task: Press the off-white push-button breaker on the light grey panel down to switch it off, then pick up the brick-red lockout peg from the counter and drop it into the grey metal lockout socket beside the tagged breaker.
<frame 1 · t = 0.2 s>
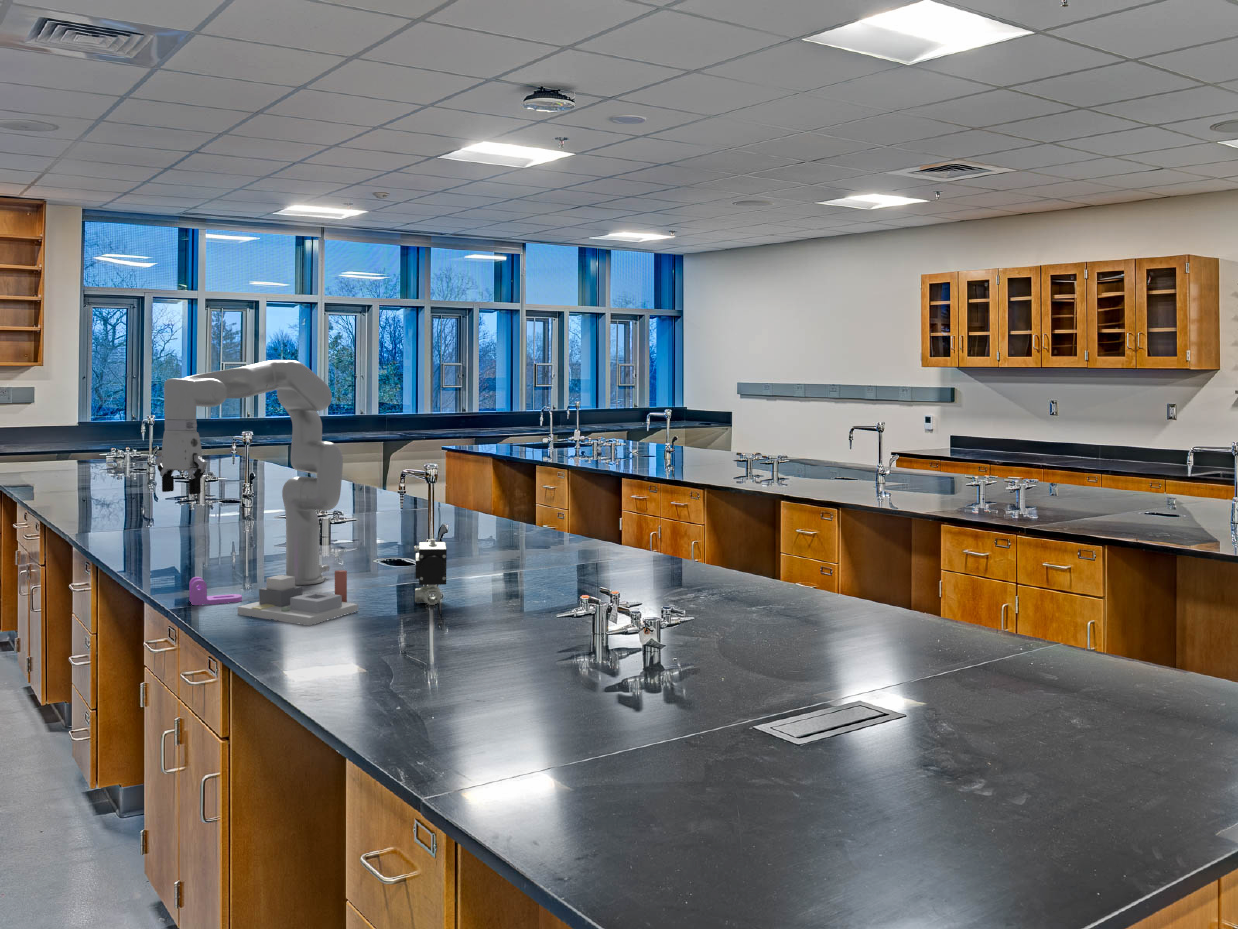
hand: (181, 492, 262), 31 cm above the counter, tool pointing down, fingers open, 9 cm apart
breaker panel: (298, 613, 264), on the counter
bracket: (216, 603, 275), on the counter
lockout peg: (340, 604, 276), on the counter
ball valve: (429, 604, 279), on the counter
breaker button: (280, 584, 266), point 7 cm above the counter, slide at 0.0 cm
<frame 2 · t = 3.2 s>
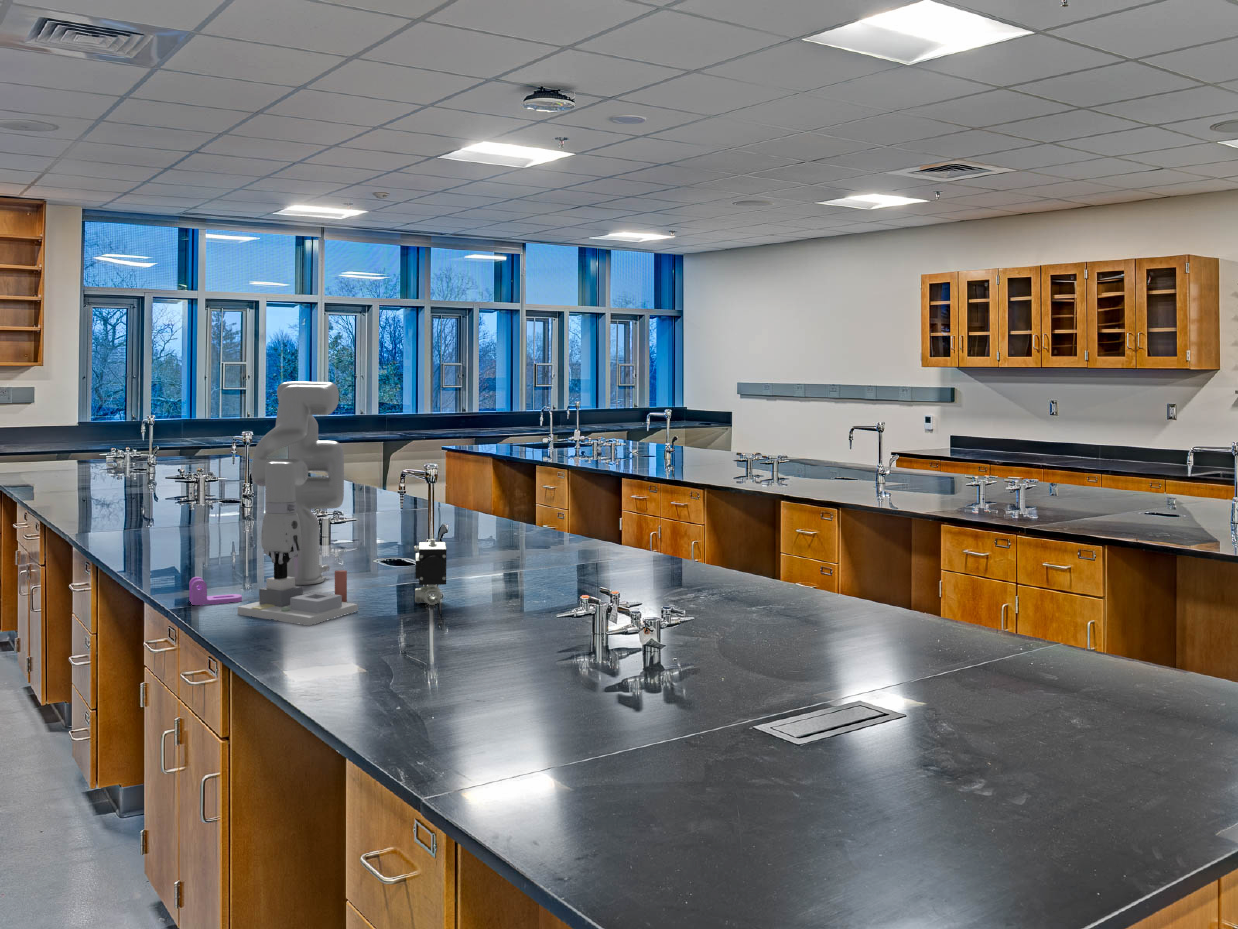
hand: (280, 578, 266), 9 cm above the counter, tool pointing down, fingers closed
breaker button: (280, 585, 266), point 7 cm above the counter, slide at 0.2 cm, touching gripper
everything else where it was.
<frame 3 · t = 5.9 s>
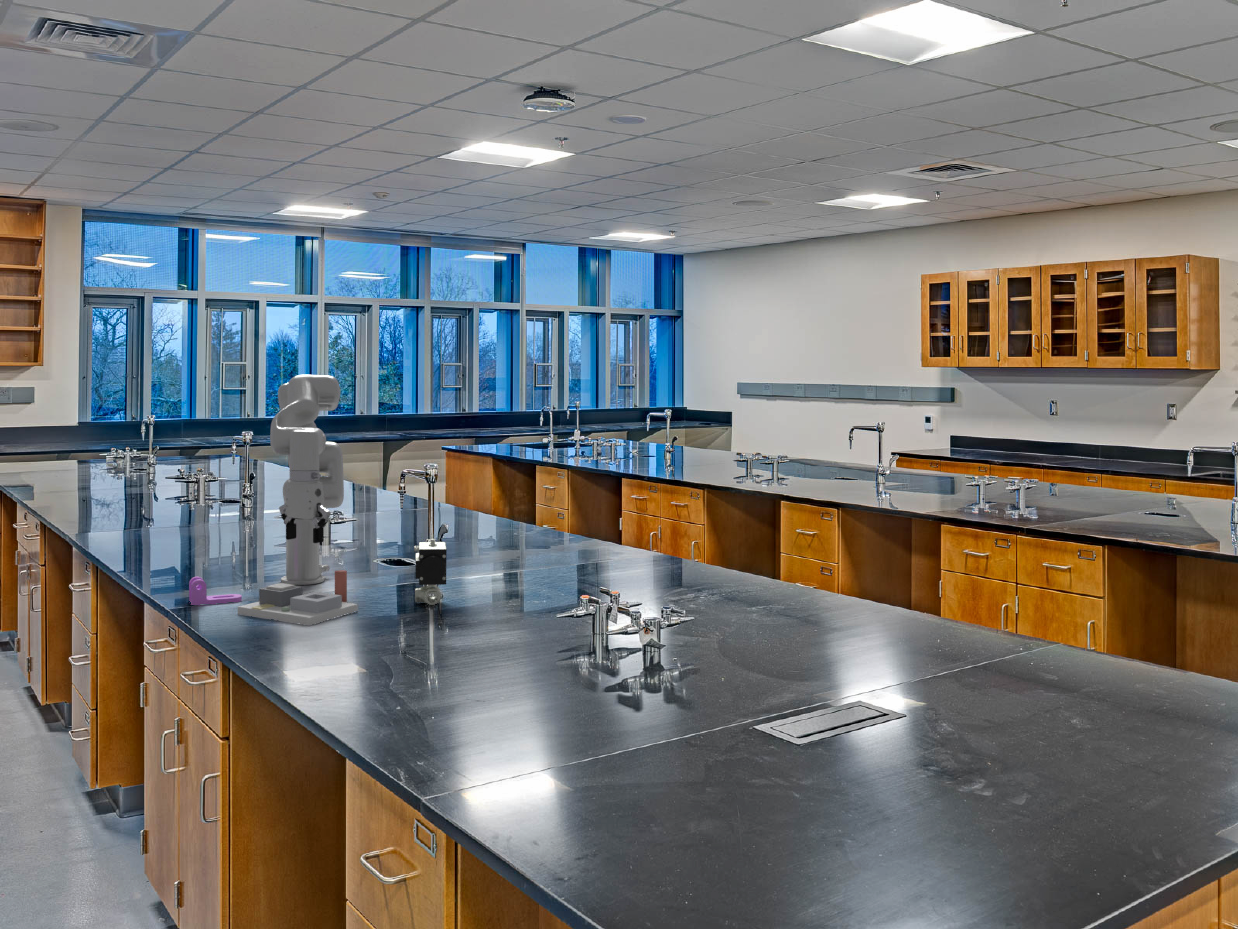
hand: (304, 540, 269), 18 cm above the counter, tool pointing down, fingers open, 9 cm apart
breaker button: (280, 593, 266), point 5 cm above the counter, slide at 2.2 cm
everything else where it was.
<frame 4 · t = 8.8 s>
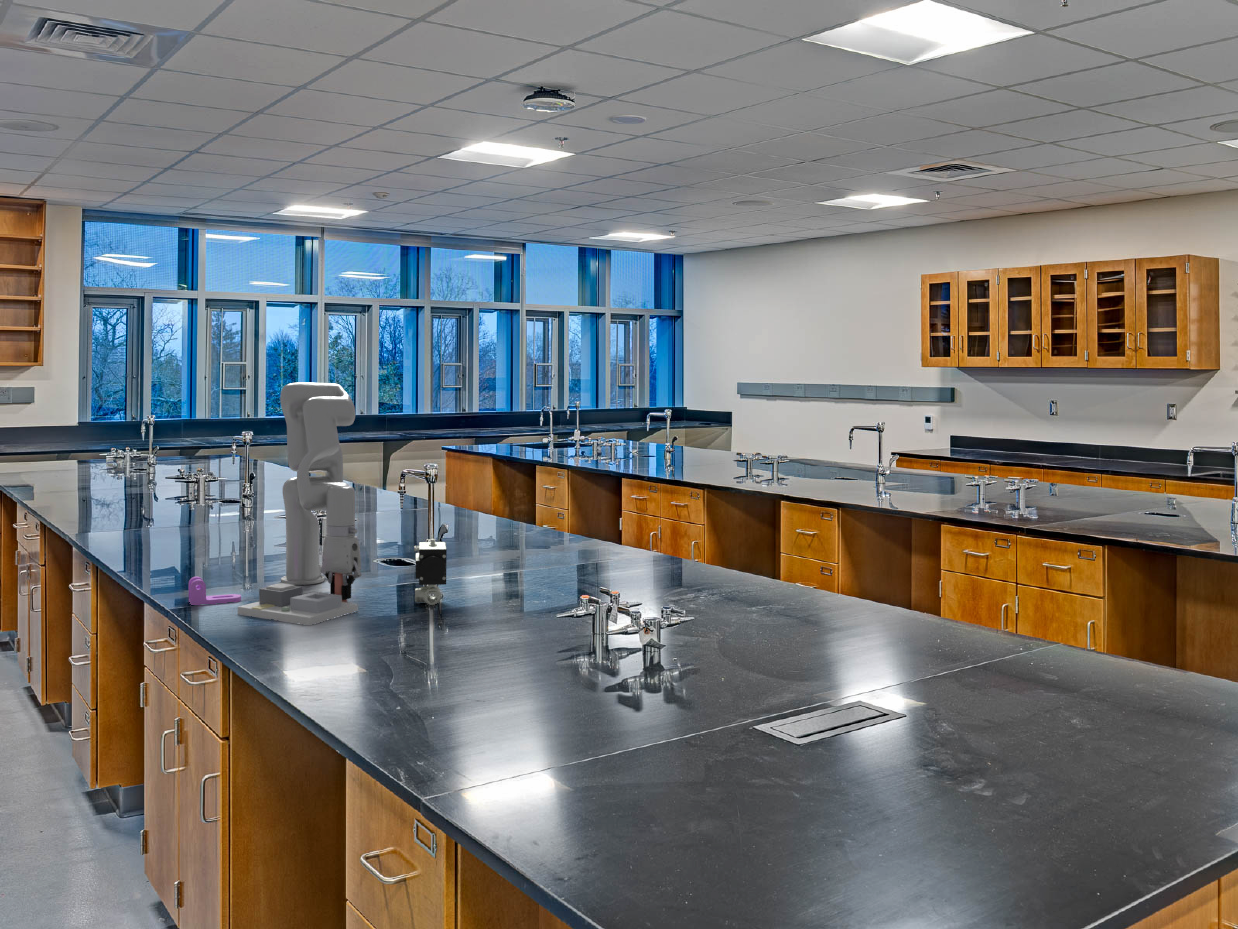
hand: (340, 597, 276), 2 cm above the counter, tool pointing down, fingers closed on lockout peg, 3 cm apart
lockout peg: (340, 603, 276), on the counter, touching gripper
everything else where it was.
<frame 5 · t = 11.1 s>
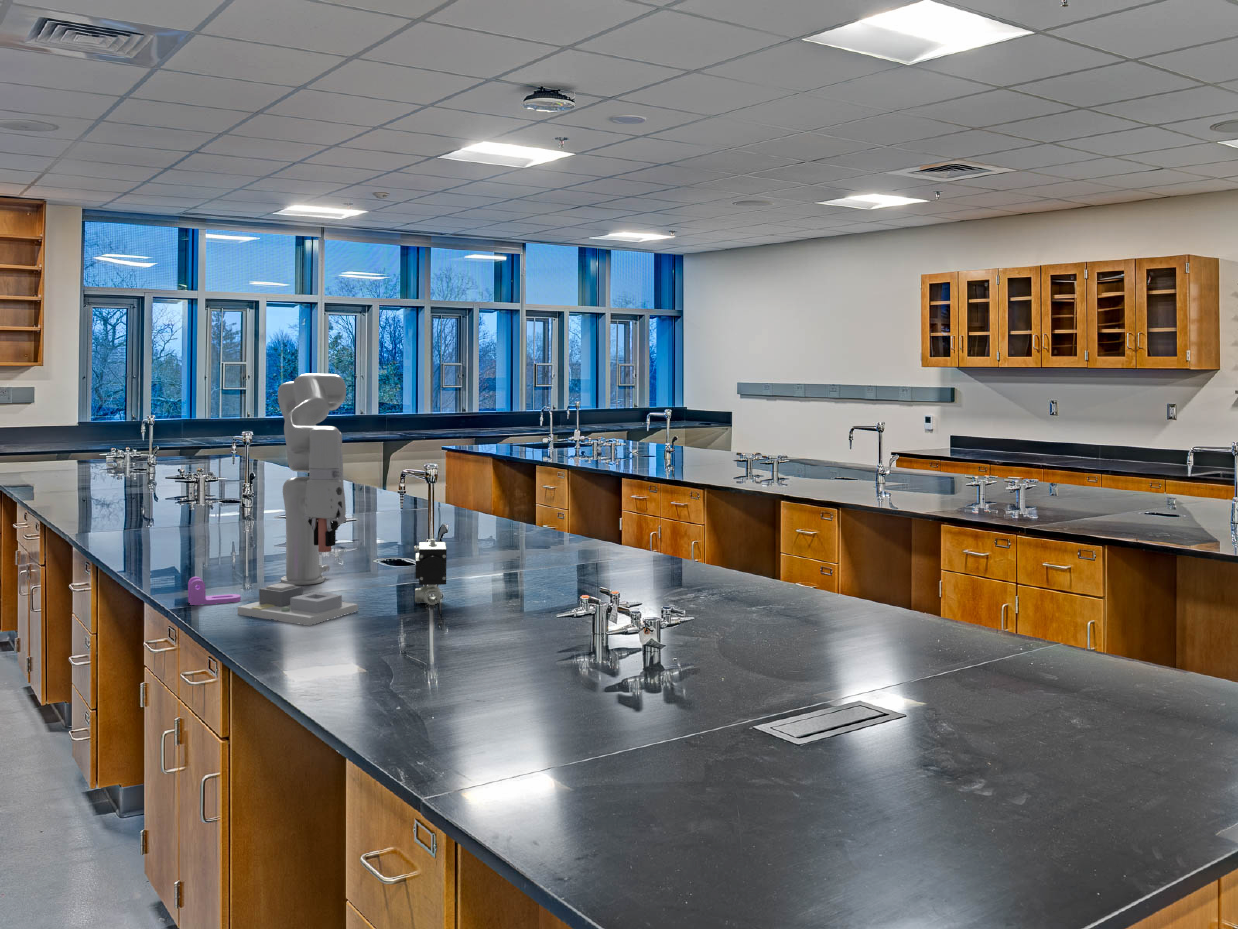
hand: (324, 544, 265), 18 cm above the counter, tool pointing down, fingers closed on lockout peg, 3 cm apart
lockout peg: (324, 551, 265), point 16 cm above the counter, touching gripper
everything else where it was.
when the fingers open (6 cm above the counter, at t = 13.8 s): lockout peg drops 2 cm, resting on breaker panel.
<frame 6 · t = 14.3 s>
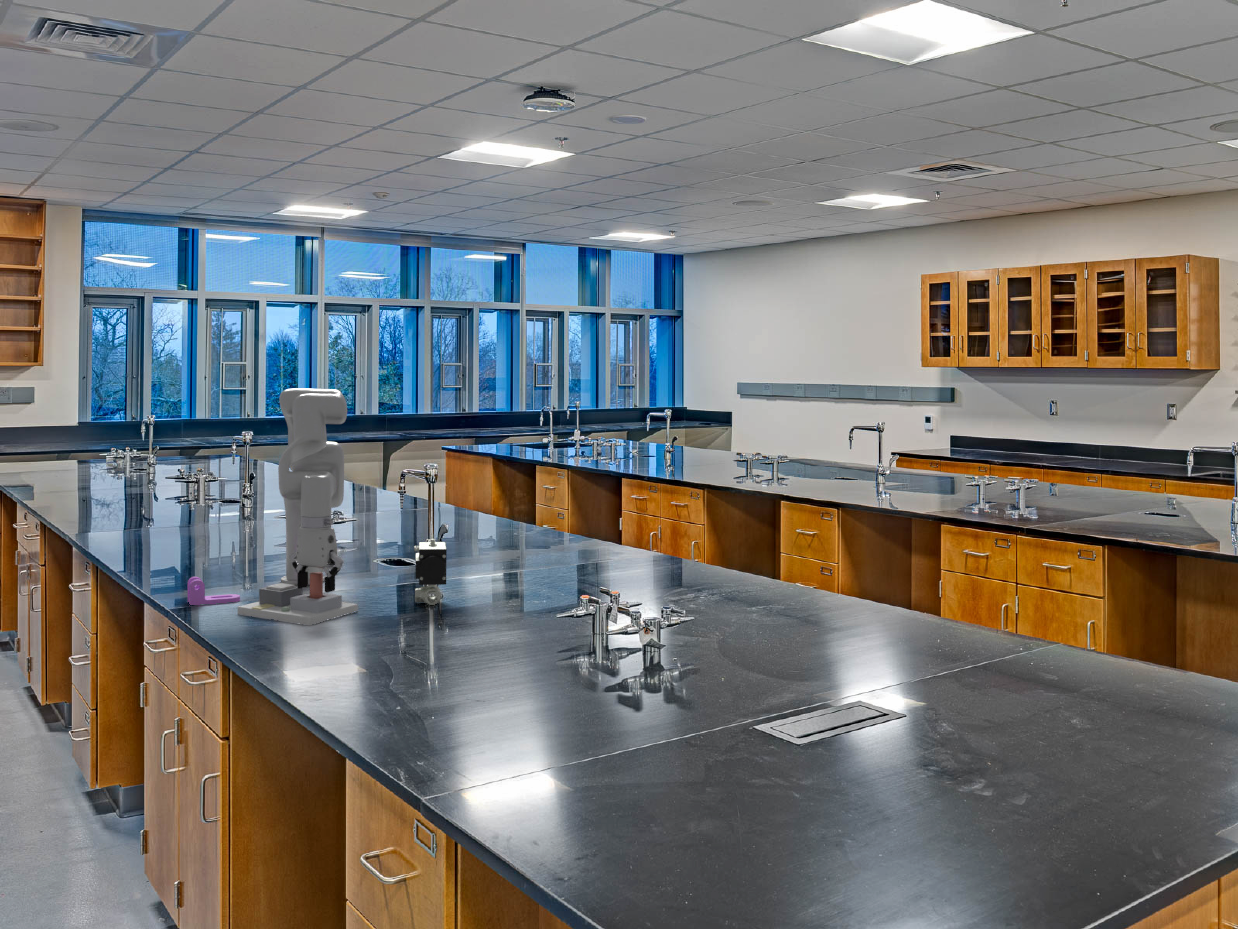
hand: (316, 589, 261), 7 cm above the counter, tool pointing down, fingers open, 8 cm apart
lockout peg: (316, 607, 262), point 2 cm above the counter, touching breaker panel
everything else where it was.
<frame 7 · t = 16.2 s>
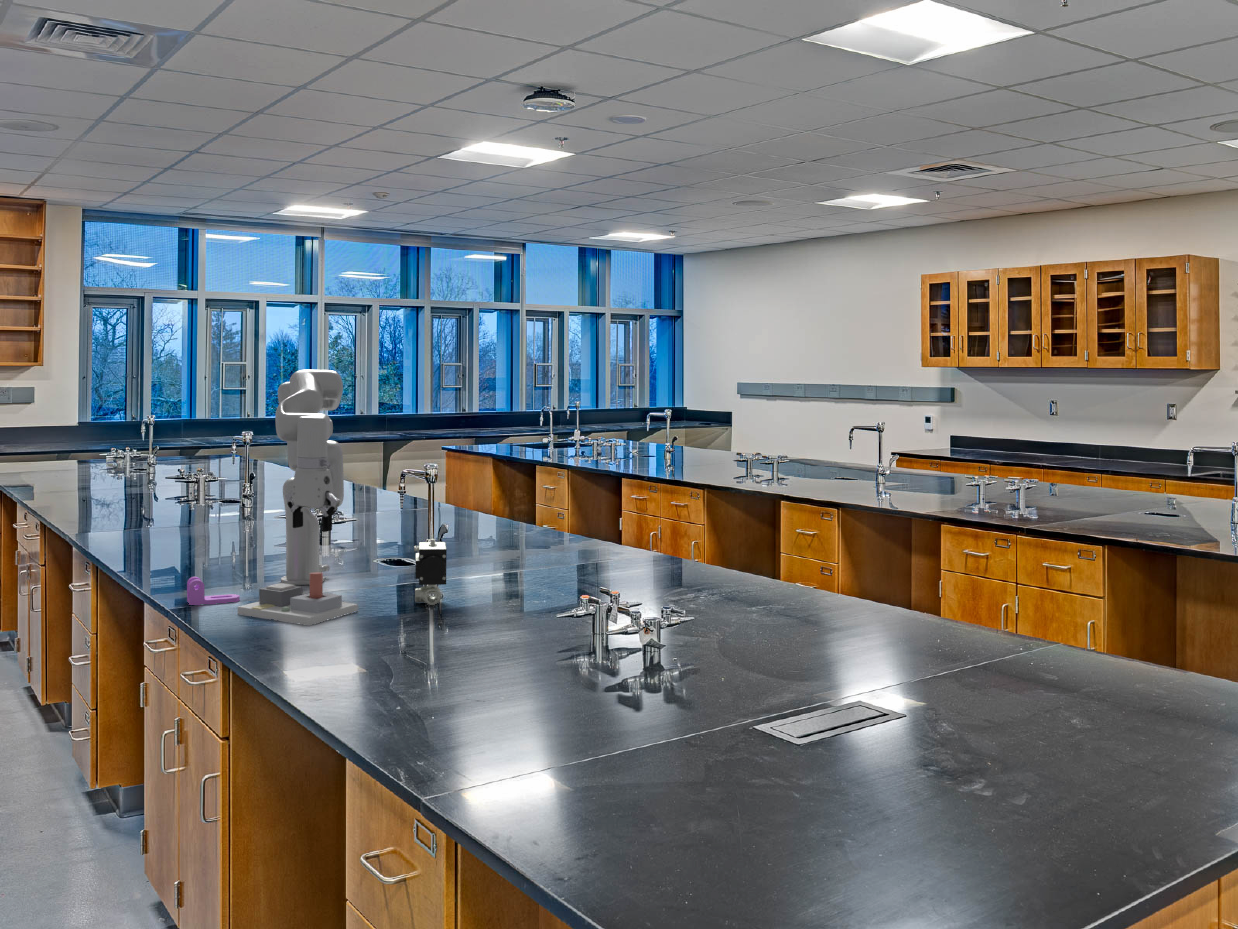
hand: (312, 529, 263), 22 cm above the counter, tool pointing down, fingers open, 9 cm apart
nothing on the counter moved.
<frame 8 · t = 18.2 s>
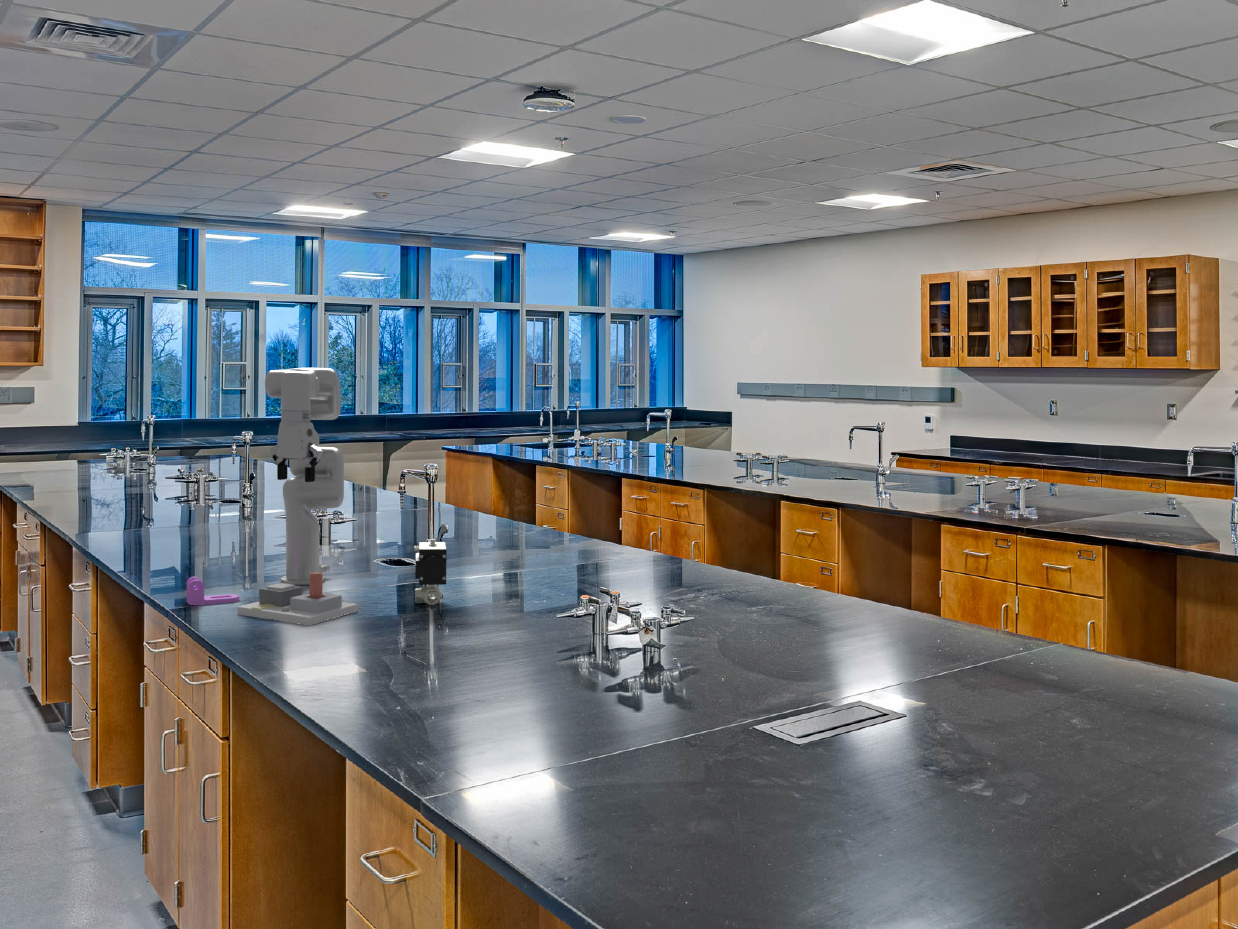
hand: (296, 480, 275), 33 cm above the counter, tool pointing down, fingers open, 9 cm apart
nothing on the counter moved.
at the end: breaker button slide at 2.2 cm; lockout peg 0.1 cm from the target spot on the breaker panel, point 2.0 cm above the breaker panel's base; lockout peg tilted 0° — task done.
